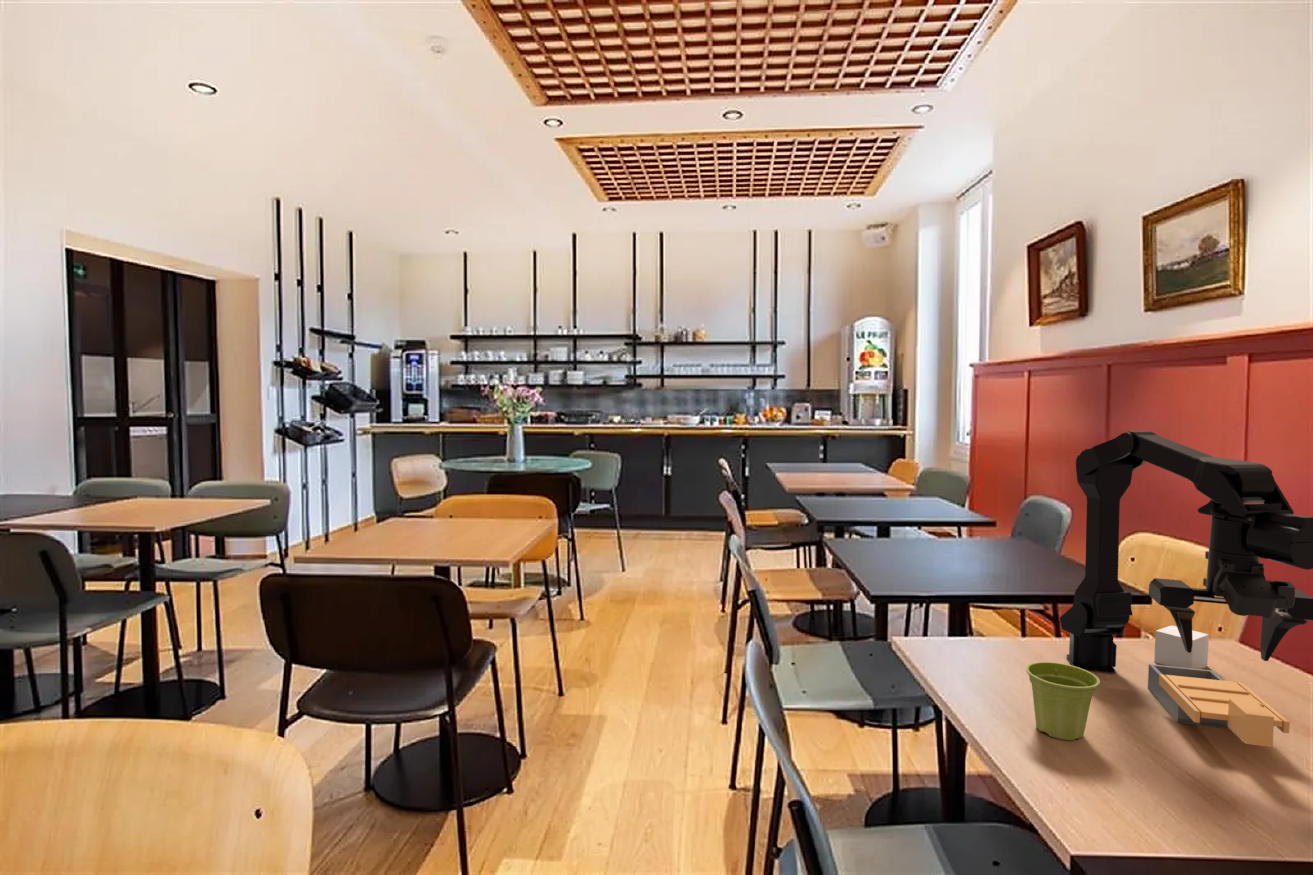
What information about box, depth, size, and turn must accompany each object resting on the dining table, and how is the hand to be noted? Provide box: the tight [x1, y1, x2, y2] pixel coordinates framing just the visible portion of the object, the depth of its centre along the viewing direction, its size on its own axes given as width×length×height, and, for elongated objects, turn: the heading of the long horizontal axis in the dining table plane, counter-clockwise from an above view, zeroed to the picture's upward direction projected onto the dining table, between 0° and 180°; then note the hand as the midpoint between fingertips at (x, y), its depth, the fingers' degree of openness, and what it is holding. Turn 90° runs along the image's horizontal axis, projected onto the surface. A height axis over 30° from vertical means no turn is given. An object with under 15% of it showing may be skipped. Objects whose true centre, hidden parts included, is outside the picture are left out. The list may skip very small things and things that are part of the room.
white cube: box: [1153, 625, 1210, 669], centre depth 131 cm, size 6×6×6 cm
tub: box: [1147, 663, 1230, 730], centre depth 112 cm, size 9×13×4 cm
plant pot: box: [1025, 661, 1101, 741], centre depth 105 cm, size 9×9×9 cm
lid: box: [1159, 674, 1291, 748], centre depth 102 cm, size 11×19×4 cm, turn 162°
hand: (1225, 655), depth 104 cm, fingers open, 9 cm apart
